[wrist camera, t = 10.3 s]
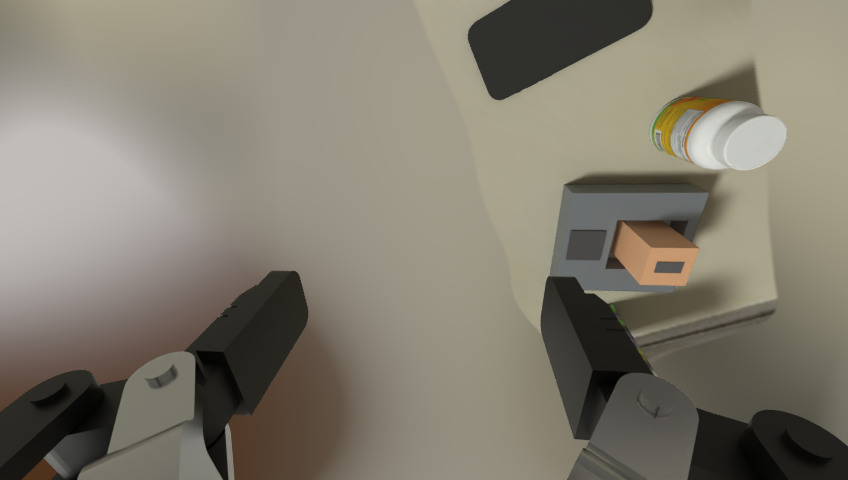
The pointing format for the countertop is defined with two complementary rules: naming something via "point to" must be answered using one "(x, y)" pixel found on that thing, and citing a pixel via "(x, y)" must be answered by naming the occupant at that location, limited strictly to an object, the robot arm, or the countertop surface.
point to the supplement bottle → (718, 133)
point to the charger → (654, 252)
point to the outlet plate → (597, 223)
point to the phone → (547, 38)
